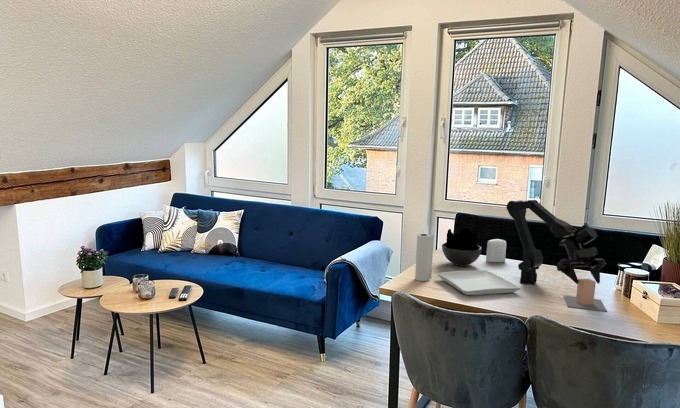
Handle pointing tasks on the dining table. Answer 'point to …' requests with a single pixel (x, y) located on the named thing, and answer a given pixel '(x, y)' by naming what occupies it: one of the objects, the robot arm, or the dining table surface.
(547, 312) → the dining table surface
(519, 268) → the robot arm
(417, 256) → the paper towel roll
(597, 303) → the rubber mat
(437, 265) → the dining table surface
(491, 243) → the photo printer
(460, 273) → the square plate
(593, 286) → the terracotta block
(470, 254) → the coal bowl
